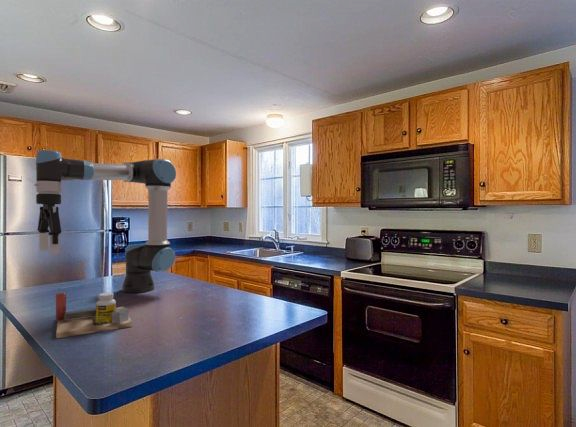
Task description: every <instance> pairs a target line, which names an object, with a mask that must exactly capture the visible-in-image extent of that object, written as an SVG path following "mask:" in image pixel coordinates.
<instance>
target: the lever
mask: <svg viewBox="0 0 576 427" xmlns="http://www.w3.org/2000/svg"><path fill="white" fill-rule="evenodd" d="M89 316H96V307H95V308H87V309H82V310H81V309H80V310H74V311H73V310H72V311H67V292H59V293H58V292H57V293H56V294H55V322H58V321H62V320H67V319H75V318H82V317H89Z"/></svg>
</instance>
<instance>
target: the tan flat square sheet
mask: <svg viewBox="0 0 576 427" xmlns="http://www.w3.org/2000/svg"><path fill="white" fill-rule="evenodd" d="M119 308H125V306H119V307H117V306H116V310H117V309H119ZM94 324H95V325H94ZM130 327H133V321H132V319H131V318H130V316H129V319H128V320H126V321H125V322H123V323H121V328H120V329H124V328H130ZM118 329H119V324H112V323H109V324H103V325H96V316H89V317H82V318H75V319H67V320H62V321H57V324H56V334H55V336H56V337H55V338H56V339H60V338H68V337H69V338H70V337H74V336H78V335H79V336H80V335H81V336H82V335H86V334H92V333H98V332H105V331H112V330H118Z"/></svg>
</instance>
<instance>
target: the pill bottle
mask: <svg viewBox="0 0 576 427" xmlns="http://www.w3.org/2000/svg"><path fill="white" fill-rule="evenodd" d="M95 303H96V304H95V305H96V306H95V308H96V323H95V326H96V325H103V324H109V323H112V312H113V311H115V310H116V308H117V306H116V304H117V302H116V300H115V299H114V292H102V293H99V294H98V300H97V301H96V302H95Z"/></svg>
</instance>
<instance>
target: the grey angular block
mask: <svg viewBox="0 0 576 427" xmlns="http://www.w3.org/2000/svg"><path fill="white" fill-rule="evenodd" d="M129 312H130V311H129V307H124V308H119V309H117V310H115V311H113V312H112V324H119V329H122V328H121V323H123V322H125V321H126V320H128V319H129V317H130V316H129V314H130V313H129Z"/></svg>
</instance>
